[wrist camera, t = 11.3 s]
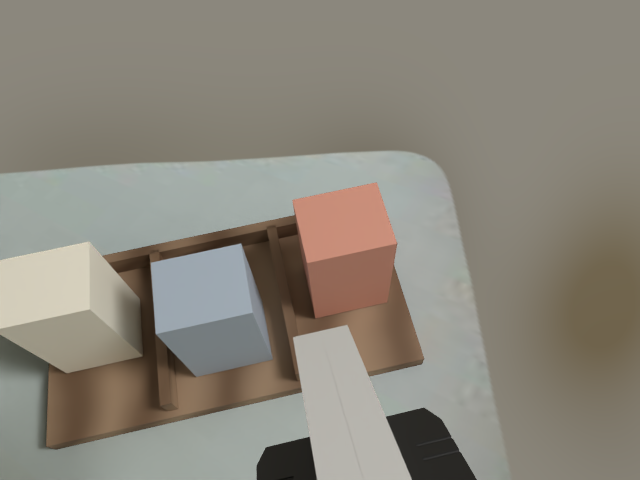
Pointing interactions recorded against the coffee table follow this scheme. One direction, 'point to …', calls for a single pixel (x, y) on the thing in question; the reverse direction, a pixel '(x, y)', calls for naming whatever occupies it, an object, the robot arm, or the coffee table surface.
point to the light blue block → (210, 310)
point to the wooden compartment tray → (230, 385)
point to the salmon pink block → (346, 248)
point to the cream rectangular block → (69, 308)
